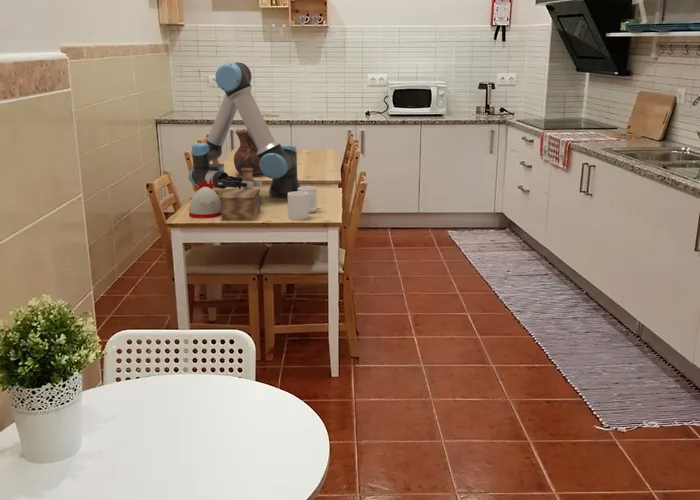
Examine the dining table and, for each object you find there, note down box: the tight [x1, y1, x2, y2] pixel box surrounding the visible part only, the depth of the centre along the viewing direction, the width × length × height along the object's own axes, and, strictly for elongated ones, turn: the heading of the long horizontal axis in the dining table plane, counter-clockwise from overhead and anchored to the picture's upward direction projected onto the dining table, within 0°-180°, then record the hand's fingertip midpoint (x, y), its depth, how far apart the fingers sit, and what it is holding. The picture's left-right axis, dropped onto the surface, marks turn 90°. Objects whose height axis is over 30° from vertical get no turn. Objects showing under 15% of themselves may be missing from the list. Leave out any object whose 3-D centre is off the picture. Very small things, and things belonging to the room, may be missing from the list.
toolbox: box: [219, 188, 262, 221], centre depth 294 cm, size 14×33×9 cm, turn 179°
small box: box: [210, 163, 225, 172], centre depth 352 cm, size 11×6×10 cm, turn 168°
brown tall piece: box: [241, 168, 254, 189], centre depth 305 cm, size 5×5×16 cm
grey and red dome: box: [188, 179, 222, 219], centre depth 288 cm, size 14×14×15 cm
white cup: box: [298, 185, 317, 214], centre depth 292 cm, size 8×8×10 cm
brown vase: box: [233, 128, 265, 177], centre depth 379 cm, size 22×21×25 cm
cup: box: [287, 191, 318, 221], centre depth 282 cm, size 8×12×10 cm
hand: (257, 184), depth 302 cm, fingers closed on brown tall piece, 4 cm apart
